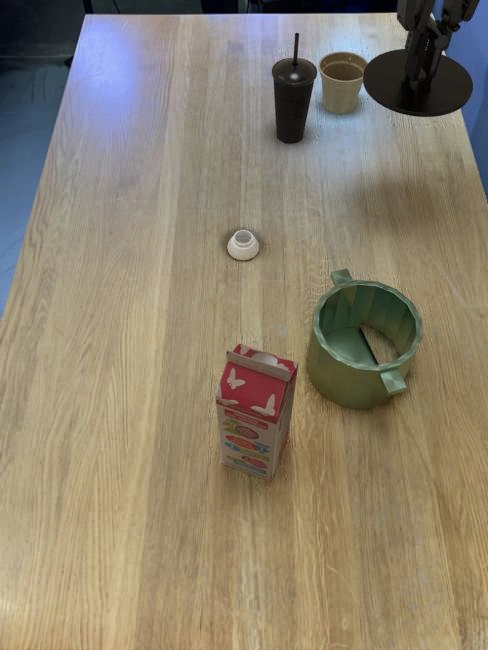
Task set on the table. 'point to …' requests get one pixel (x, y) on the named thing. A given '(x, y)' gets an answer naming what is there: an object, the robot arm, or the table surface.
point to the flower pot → (341, 80)
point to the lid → (419, 81)
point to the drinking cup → (292, 95)
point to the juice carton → (255, 409)
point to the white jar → (243, 245)
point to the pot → (360, 342)
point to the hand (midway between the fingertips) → (419, 73)
